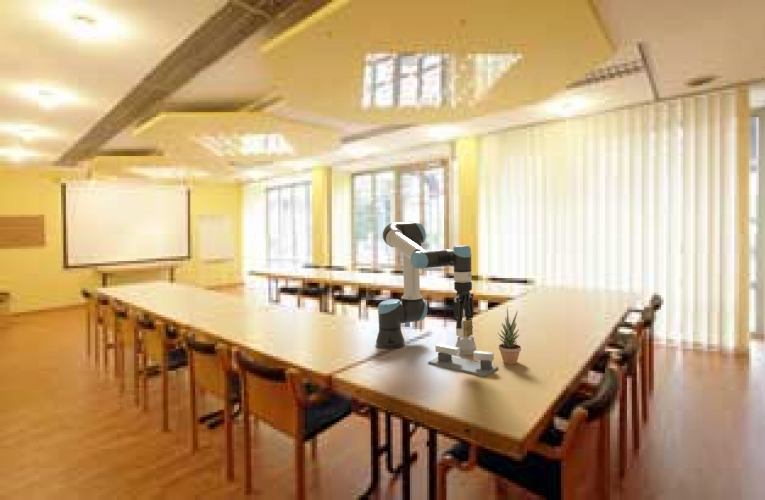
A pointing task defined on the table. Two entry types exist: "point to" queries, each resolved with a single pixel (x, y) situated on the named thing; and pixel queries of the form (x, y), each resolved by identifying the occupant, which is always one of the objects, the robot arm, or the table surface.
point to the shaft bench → (464, 365)
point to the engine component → (466, 343)
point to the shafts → (456, 351)
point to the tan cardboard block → (466, 327)
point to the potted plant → (509, 342)
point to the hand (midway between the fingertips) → (464, 334)
